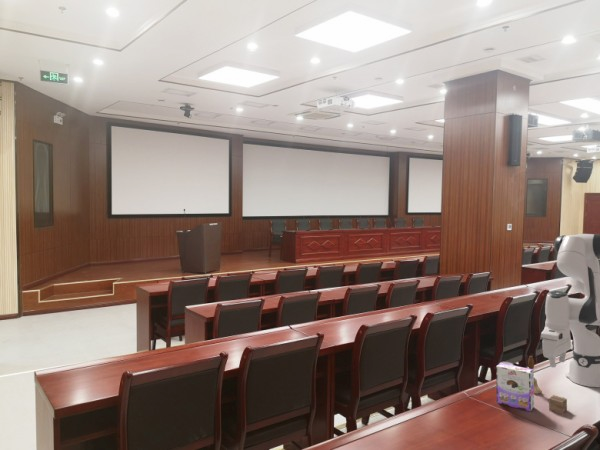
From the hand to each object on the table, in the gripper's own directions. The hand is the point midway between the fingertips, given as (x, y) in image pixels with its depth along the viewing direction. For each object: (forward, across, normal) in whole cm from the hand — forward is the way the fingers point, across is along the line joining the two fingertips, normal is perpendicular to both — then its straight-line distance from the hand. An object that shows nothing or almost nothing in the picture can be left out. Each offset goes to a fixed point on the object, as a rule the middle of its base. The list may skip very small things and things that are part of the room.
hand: (557, 364), depth 180 cm
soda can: (+20, -6, -24) cm, 32 cm away
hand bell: (+20, -13, -16) cm, 29 cm away
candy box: (+20, +8, -14) cm, 25 cm away
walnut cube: (+20, 0, 0) cm, 20 cm away
